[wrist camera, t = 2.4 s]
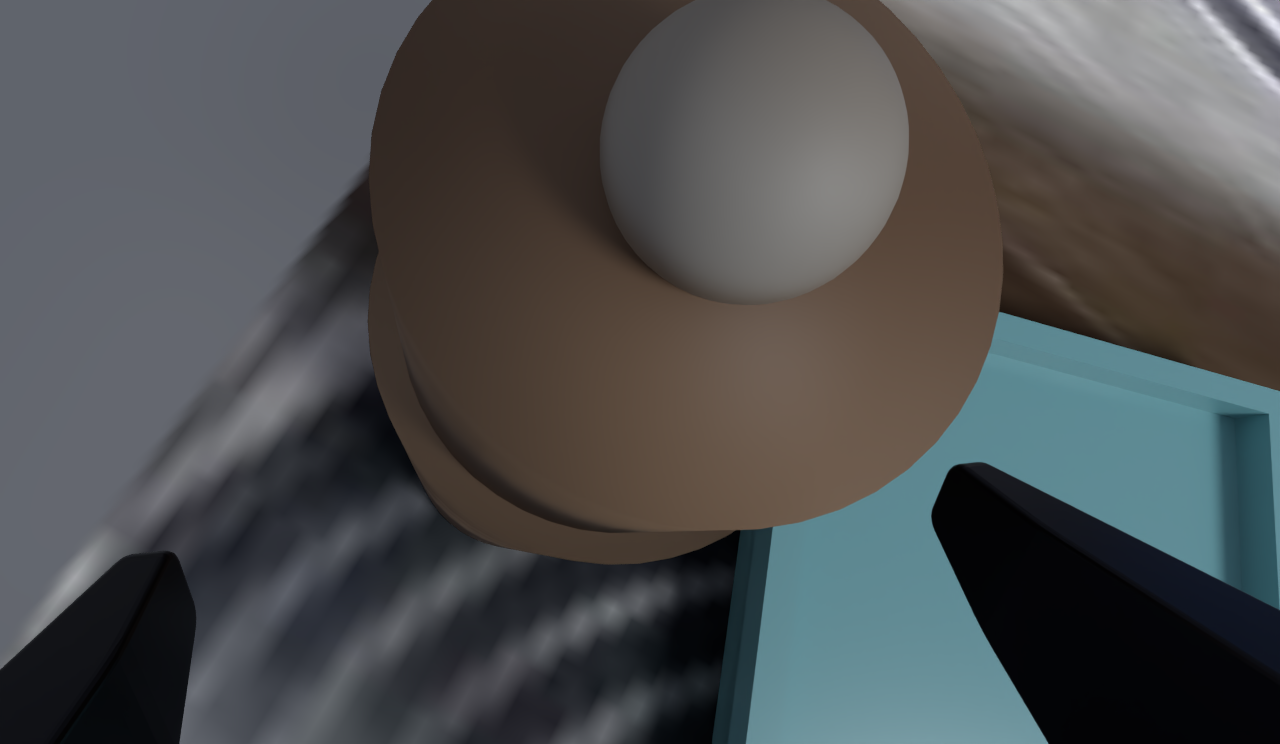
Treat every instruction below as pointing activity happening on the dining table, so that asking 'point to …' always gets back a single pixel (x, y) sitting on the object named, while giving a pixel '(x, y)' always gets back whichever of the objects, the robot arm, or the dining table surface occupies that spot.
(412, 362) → the pepper mill
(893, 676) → the teal tray
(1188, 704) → the robot arm
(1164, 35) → the dining table surface
